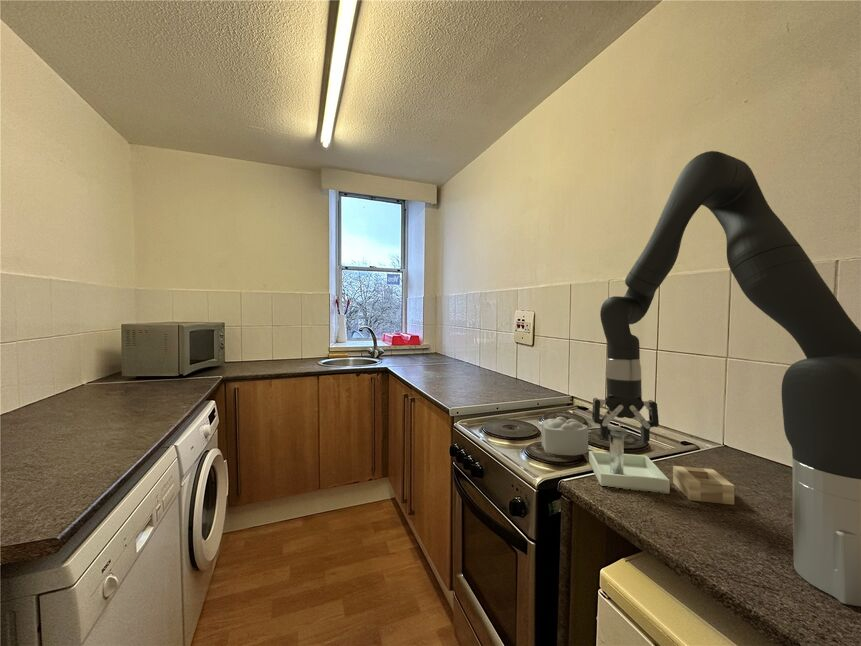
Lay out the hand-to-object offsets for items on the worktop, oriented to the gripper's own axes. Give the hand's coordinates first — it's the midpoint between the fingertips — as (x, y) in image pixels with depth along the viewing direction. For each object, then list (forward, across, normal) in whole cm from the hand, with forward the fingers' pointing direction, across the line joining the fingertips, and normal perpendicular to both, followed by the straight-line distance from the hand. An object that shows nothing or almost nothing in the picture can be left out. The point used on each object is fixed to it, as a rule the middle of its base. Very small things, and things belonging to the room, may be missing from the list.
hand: (624, 441), depth 83 cm
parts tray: (+9, 0, 0) cm, 9 cm away
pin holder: (+9, +14, -5) cm, 17 cm away
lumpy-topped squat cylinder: (+9, -12, +16) cm, 22 cm away
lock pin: (+8, -2, 0) cm, 8 cm away
